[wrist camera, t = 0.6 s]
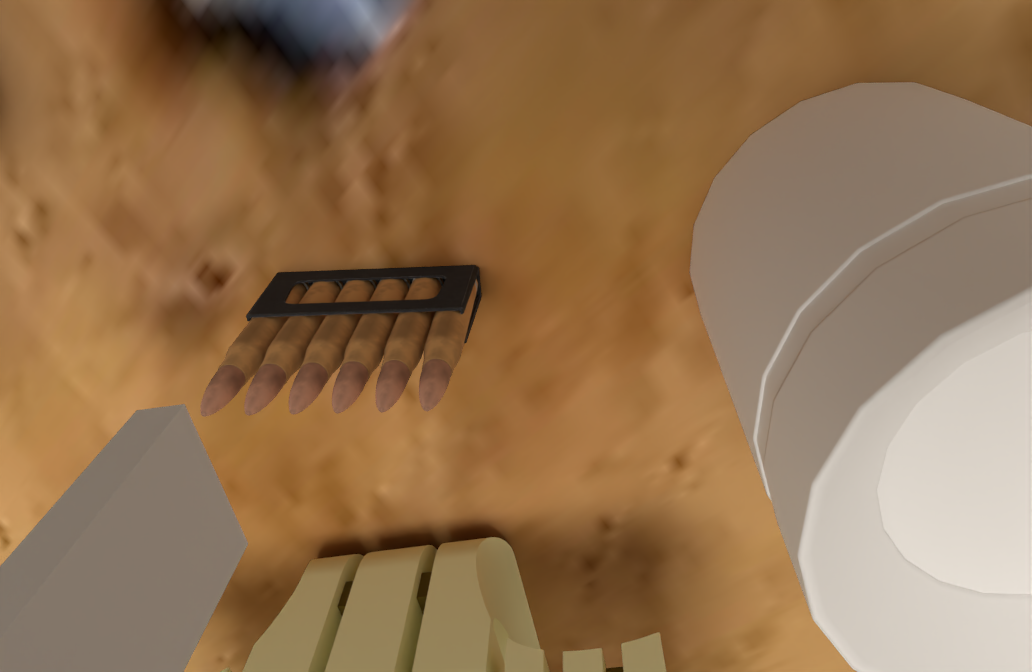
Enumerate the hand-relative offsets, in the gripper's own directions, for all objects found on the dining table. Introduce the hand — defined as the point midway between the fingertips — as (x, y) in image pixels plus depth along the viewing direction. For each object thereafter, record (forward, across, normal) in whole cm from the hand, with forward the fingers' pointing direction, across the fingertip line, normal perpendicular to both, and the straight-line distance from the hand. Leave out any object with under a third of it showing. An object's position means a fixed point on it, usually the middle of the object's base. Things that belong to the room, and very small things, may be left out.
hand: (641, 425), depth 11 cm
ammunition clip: (+27, -12, -8) cm, 31 cm away
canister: (+27, +12, -10) cm, 31 cm away
